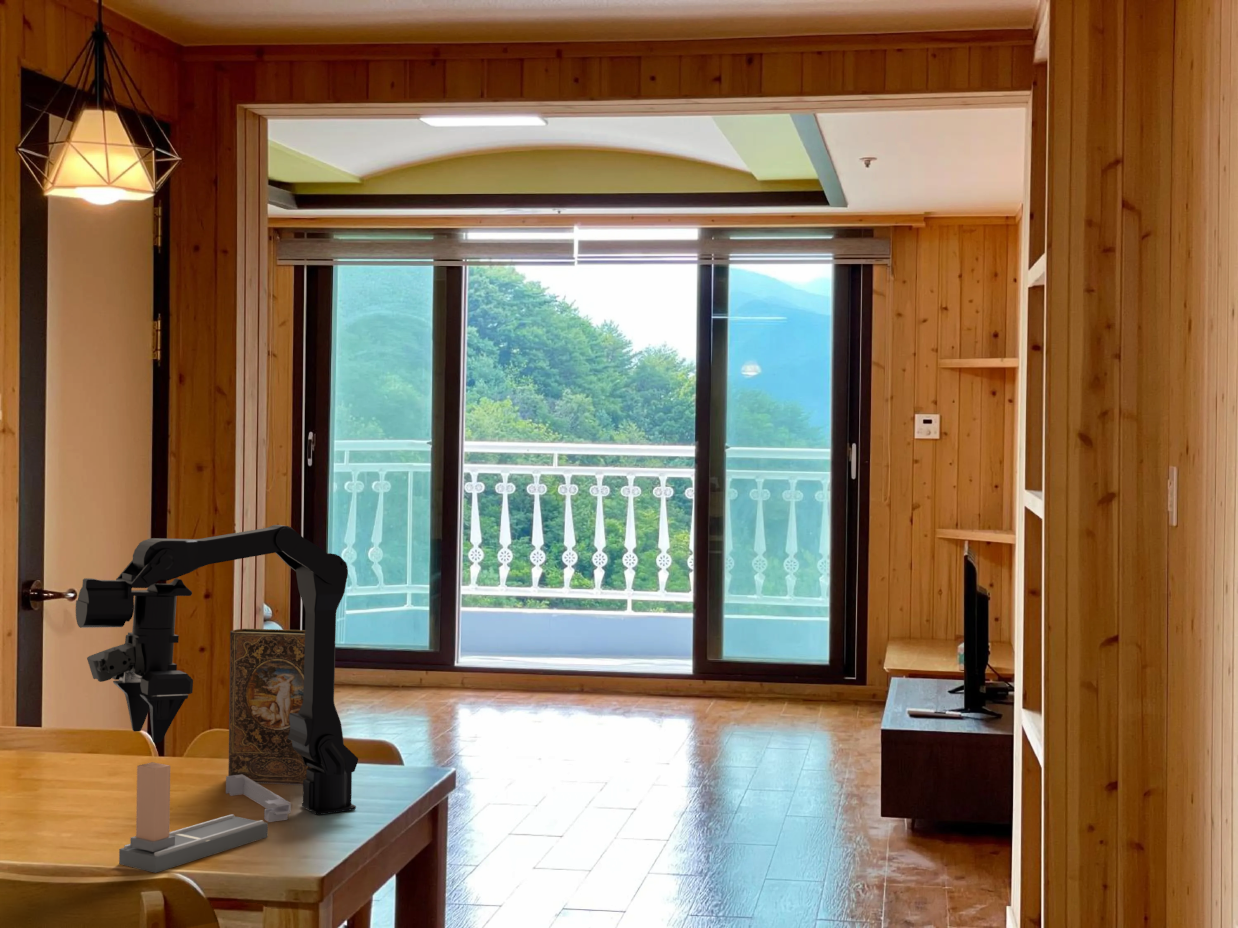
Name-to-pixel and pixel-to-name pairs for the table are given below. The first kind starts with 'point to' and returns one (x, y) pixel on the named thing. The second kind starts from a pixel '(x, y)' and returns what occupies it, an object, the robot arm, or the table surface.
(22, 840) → the table surface
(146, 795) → the fader
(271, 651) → the book
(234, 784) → the door handle
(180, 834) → the grey slider rail base
